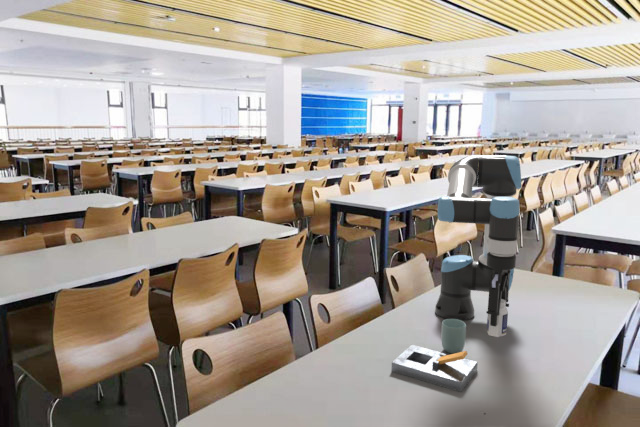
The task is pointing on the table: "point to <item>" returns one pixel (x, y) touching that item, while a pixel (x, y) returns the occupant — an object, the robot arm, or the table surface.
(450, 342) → the cup
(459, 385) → the hitch plate
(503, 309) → the pill bottle
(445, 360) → the lever
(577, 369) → the table surface
